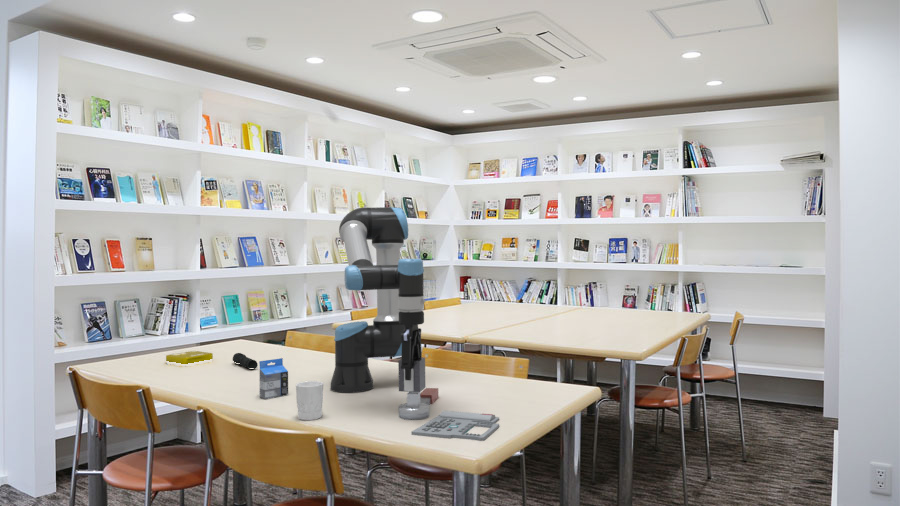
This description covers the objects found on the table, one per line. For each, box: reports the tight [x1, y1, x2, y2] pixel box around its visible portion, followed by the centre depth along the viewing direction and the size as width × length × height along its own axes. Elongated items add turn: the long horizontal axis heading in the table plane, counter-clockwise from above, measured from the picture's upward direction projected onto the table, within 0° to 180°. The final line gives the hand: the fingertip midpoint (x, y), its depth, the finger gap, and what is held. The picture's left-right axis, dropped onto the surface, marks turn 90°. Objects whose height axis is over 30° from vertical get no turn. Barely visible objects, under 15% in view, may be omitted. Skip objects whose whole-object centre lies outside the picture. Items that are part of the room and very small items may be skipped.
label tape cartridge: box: [259, 357, 289, 400], centre depth 217 cm, size 9×4×12 cm, turn 134°
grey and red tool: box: [398, 387, 439, 421], centre depth 199 cm, size 29×9×7 cm, turn 169°
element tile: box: [165, 350, 214, 364], centre depth 284 cm, size 15×15×5 cm
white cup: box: [295, 380, 324, 421], centre depth 189 cm, size 8×8×10 cm
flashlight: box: [232, 352, 258, 369], centre depth 273 cm, size 5×21×5 cm, turn 35°
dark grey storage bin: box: [397, 357, 426, 393], centre depth 189 cm, size 6×6×9 cm
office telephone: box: [410, 410, 500, 442], centre depth 177 cm, size 23×3×20 cm
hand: (412, 388), depth 189 cm, fingers closed on dark grey storage bin, 6 cm apart
